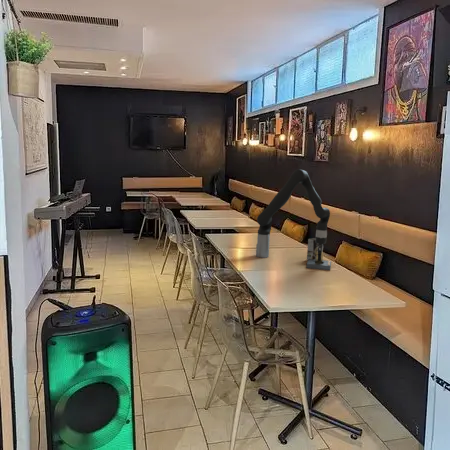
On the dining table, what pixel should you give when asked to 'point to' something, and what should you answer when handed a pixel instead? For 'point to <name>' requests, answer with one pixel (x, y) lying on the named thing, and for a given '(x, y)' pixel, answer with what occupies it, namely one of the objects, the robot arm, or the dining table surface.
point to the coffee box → (312, 249)
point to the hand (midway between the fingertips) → (319, 259)
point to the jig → (319, 264)
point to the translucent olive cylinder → (321, 258)
